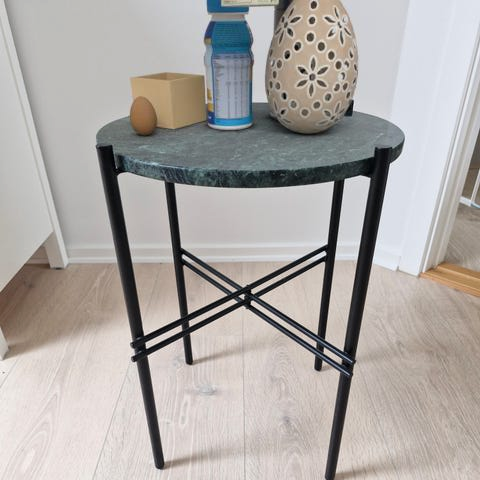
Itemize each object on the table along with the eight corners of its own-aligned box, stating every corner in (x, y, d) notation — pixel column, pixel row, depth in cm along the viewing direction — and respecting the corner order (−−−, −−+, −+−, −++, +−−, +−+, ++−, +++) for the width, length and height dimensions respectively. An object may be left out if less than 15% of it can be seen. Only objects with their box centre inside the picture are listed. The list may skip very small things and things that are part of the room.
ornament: (311, 120, 85) (322, -11, 74) (368, 135, 75) (391, -14, 63) (247, 130, 79) (247, -12, 67) (300, 148, 68) (311, -16, 57)
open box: (170, 114, 90) (166, 71, 86) (206, 120, 86) (204, 75, 81) (135, 123, 84) (130, 77, 80) (173, 129, 80) (169, 81, 75)
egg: (131, 139, 74) (125, 99, 71) (133, 132, 78) (127, 94, 74) (158, 138, 74) (154, 98, 71) (159, 132, 78) (155, 93, 75)
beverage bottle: (230, 133, 77) (228, -13, 65) (197, 126, 81) (189, -11, 70) (262, 125, 82) (265, -12, 70) (229, 119, 86) (227, -10, 75)
